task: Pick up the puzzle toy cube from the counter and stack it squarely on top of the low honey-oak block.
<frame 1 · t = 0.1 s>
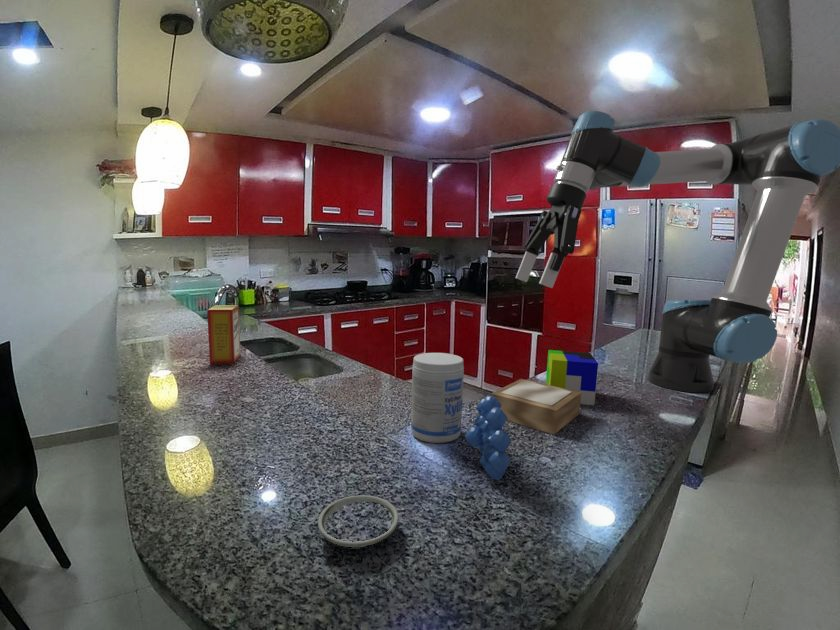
hand: (532, 282, 93), 28 cm above the counter, tool tilted 20°, fingers open, 13 cm apart
grapes: (483, 472, 68), on the counter
supplement tub: (435, 434, 81), on the counter
oak block: (535, 414, 92), on the counter
puzzle toy: (568, 397, 104), on the counter
baking soda box: (225, 359, 128), on the counter
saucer: (358, 535, 52), on the counter
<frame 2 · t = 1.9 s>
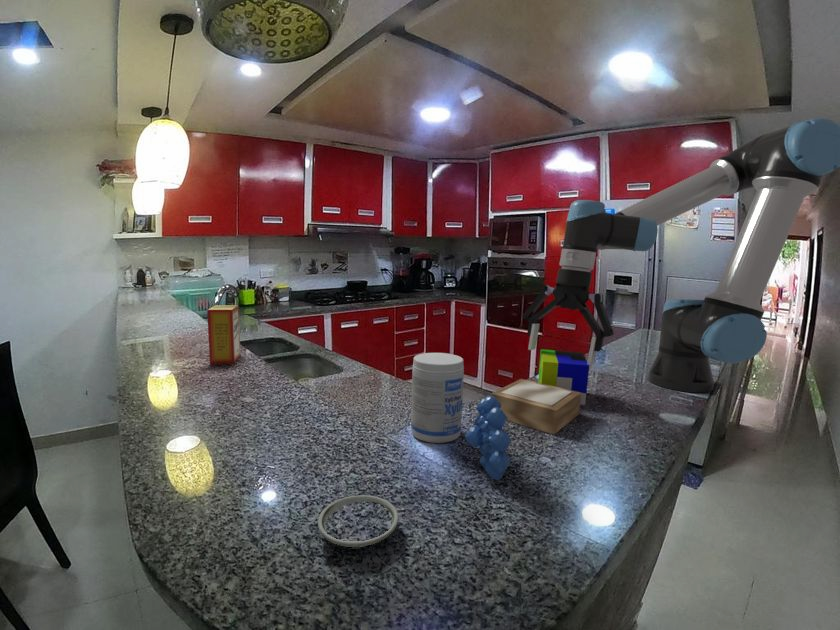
hand: (559, 358, 102), 9 cm above the counter, tool pointing down, fingers open, 14 cm apart
puzzle toy: (559, 397, 104), on the counter, touching gripper
everything else where it was.
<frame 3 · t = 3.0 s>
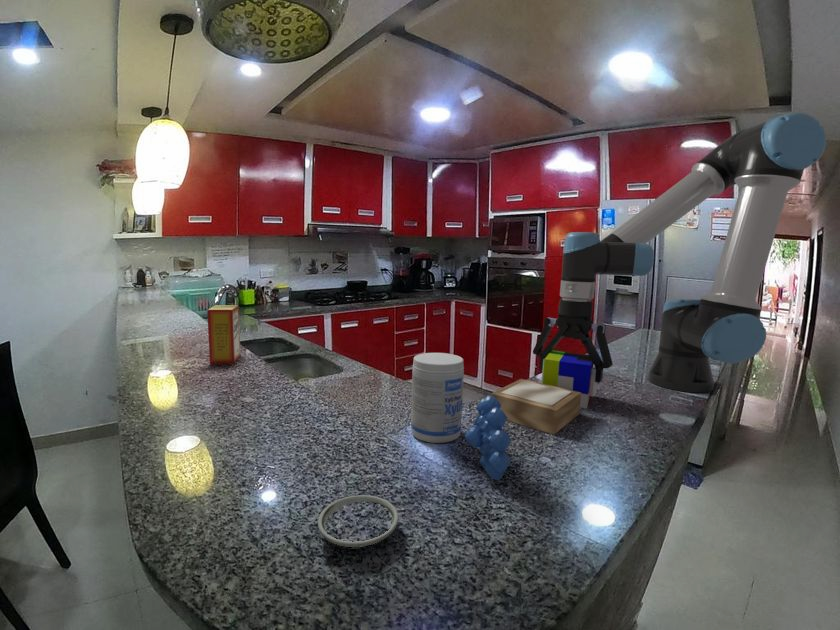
hand: (567, 389, 104), 2 cm above the counter, tool pointing down, fingers closed on puzzle toy, 11 cm apart
puzzle toy: (566, 398, 103), on the counter, touching gripper
everything else where it was.
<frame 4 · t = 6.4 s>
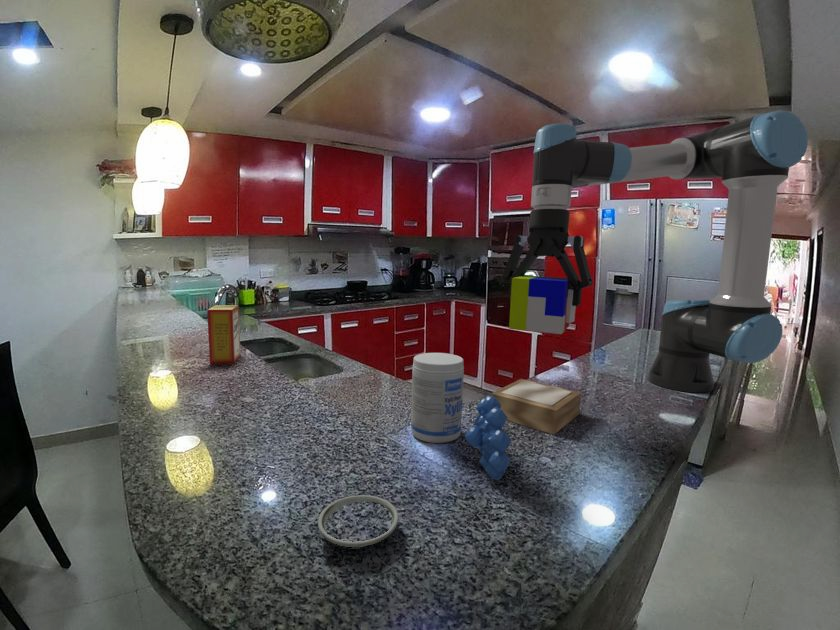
hand: (542, 318, 88), 21 cm above the counter, tool pointing down, fingers closed on puzzle toy, 11 cm apart
puzzle toy: (539, 328, 87), point 19 cm above the counter, touching gripper
everything else where it was.
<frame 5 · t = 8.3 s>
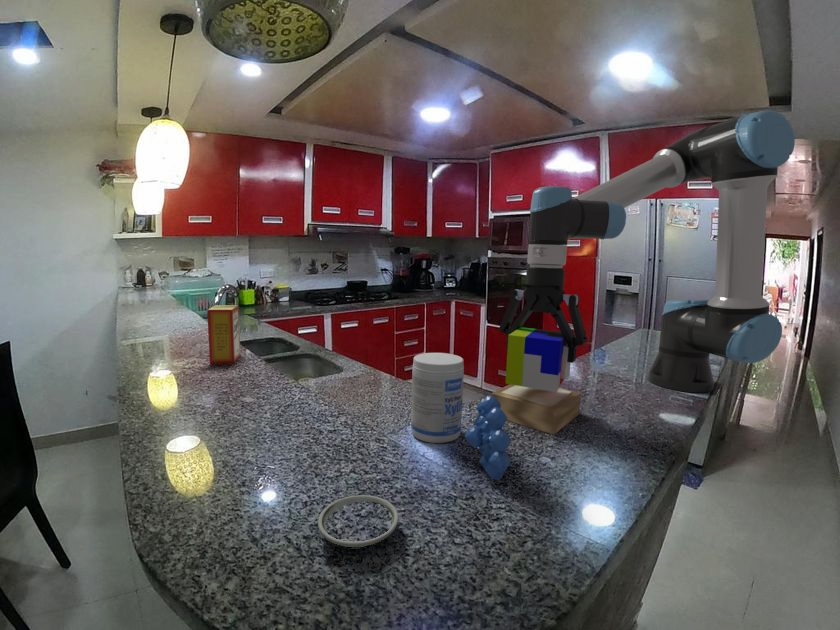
hand: (537, 371, 90), 10 cm above the counter, tool pointing down, fingers closed on puzzle toy, 11 cm apart
puzzle toy: (535, 381, 89), point 8 cm above the counter, touching gripper
everything else where it was.
when the fingers open (8 cm above the counter, at t = 9.7 s): puzzle toy drops 1 cm, resting on oak block.
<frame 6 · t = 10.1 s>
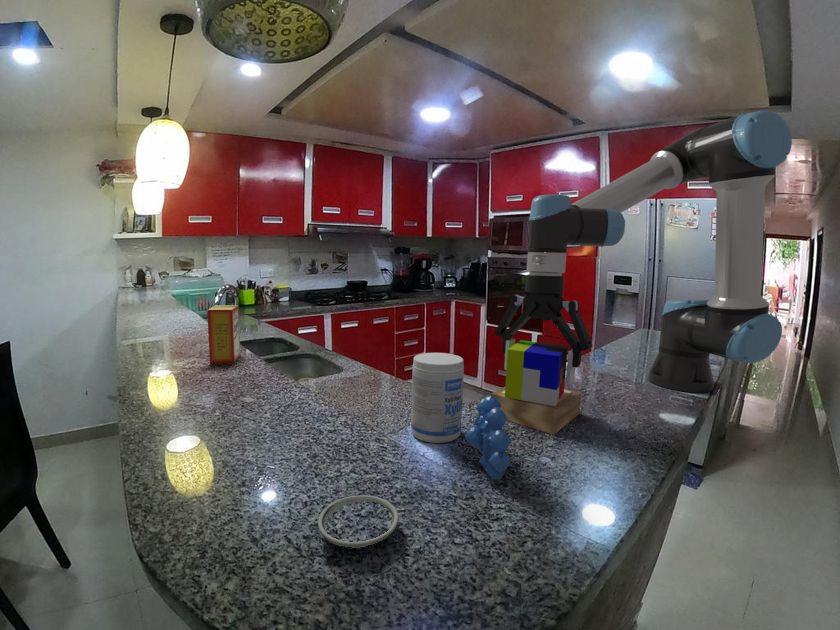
hand: (537, 375, 90), 9 cm above the counter, tool pointing down, fingers open, 13 cm apart
puzzle toy: (534, 395, 89), point 5 cm above the counter, touching oak block
everything else where it was.
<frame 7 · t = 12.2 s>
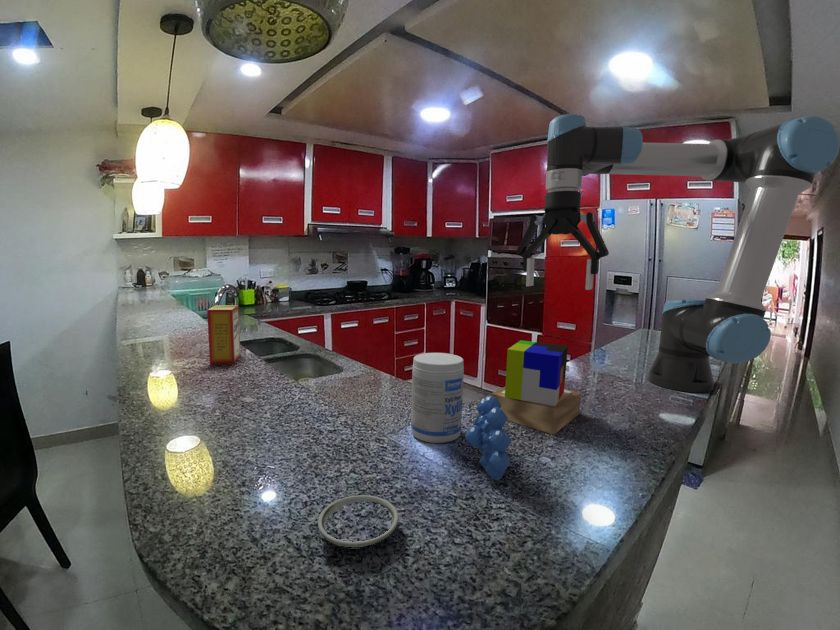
hand: (558, 287, 98), 26 cm above the counter, tool pointing down, fingers open, 13 cm apart
nothing on the counter moved.
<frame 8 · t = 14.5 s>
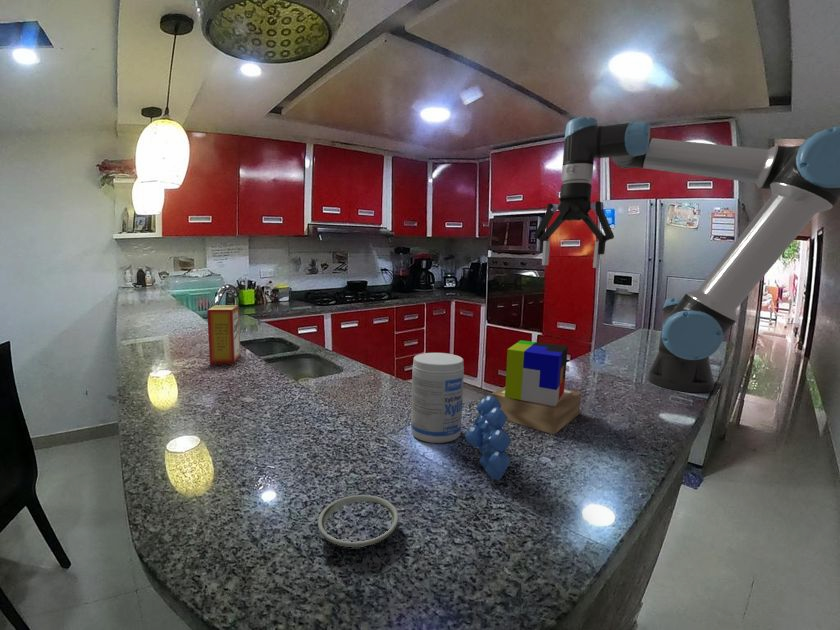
hand: (569, 266, 114), 31 cm above the counter, tool pointing down, fingers open, 13 cm apart
nothing on the counter moved.
at the end: puzzle toy inside the target area on the oak block (1.6 cm from its centre), point 4.8 cm above the oak block's base; puzzle toy tilted 0°; the gripper is holding nothing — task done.
